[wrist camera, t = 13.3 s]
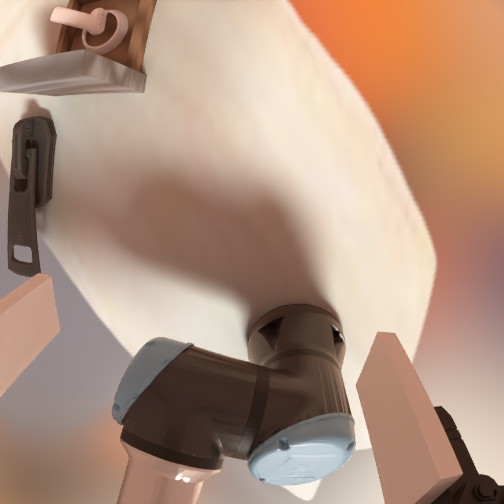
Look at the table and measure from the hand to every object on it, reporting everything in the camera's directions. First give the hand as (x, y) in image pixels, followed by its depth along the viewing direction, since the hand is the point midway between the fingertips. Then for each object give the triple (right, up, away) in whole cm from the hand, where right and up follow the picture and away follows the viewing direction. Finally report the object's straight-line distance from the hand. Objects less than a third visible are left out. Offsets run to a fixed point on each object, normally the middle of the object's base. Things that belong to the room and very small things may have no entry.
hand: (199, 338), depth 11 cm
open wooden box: (-19, +34, +23) cm, 45 cm away
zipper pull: (-33, +13, +32) cm, 48 cm away
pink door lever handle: (-19, +35, +22) cm, 46 cm away
